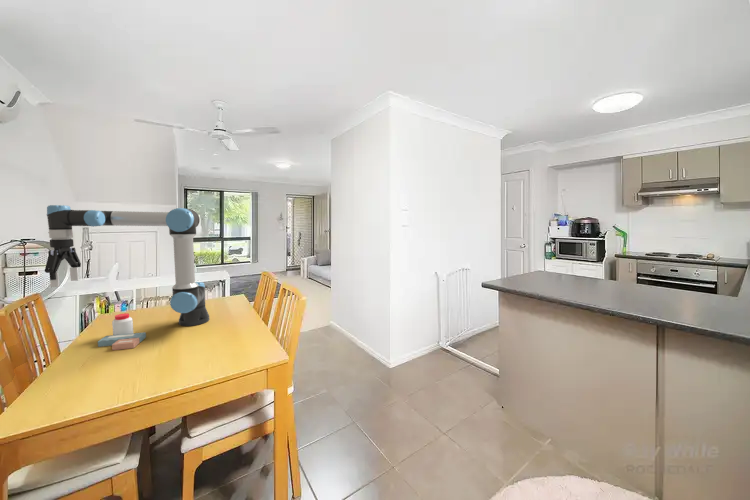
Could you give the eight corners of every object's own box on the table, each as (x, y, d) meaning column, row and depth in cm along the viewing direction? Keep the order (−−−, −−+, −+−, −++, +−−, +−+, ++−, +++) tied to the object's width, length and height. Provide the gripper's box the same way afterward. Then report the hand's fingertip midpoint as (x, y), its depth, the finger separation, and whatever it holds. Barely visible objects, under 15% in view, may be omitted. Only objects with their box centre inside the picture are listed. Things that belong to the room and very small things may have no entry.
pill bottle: (137, 334, 150) (135, 313, 148) (119, 340, 142) (118, 318, 141) (127, 332, 152) (125, 311, 151) (109, 337, 145) (107, 316, 144)
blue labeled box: (146, 337, 146) (145, 332, 146) (139, 342, 140) (139, 337, 140) (106, 340, 141) (106, 335, 141) (98, 346, 135) (97, 341, 134)
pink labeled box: (139, 342, 140) (139, 337, 139) (133, 348, 134) (133, 342, 134) (119, 344, 137) (118, 339, 137) (112, 350, 131) (111, 344, 131)
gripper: (69, 237, 147) (72, 278, 149) (29, 240, 123) (34, 290, 125) (87, 237, 149) (91, 278, 151) (52, 240, 125) (57, 289, 128)
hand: (65, 283), depth 138 cm, fingers open, 13 cm apart
